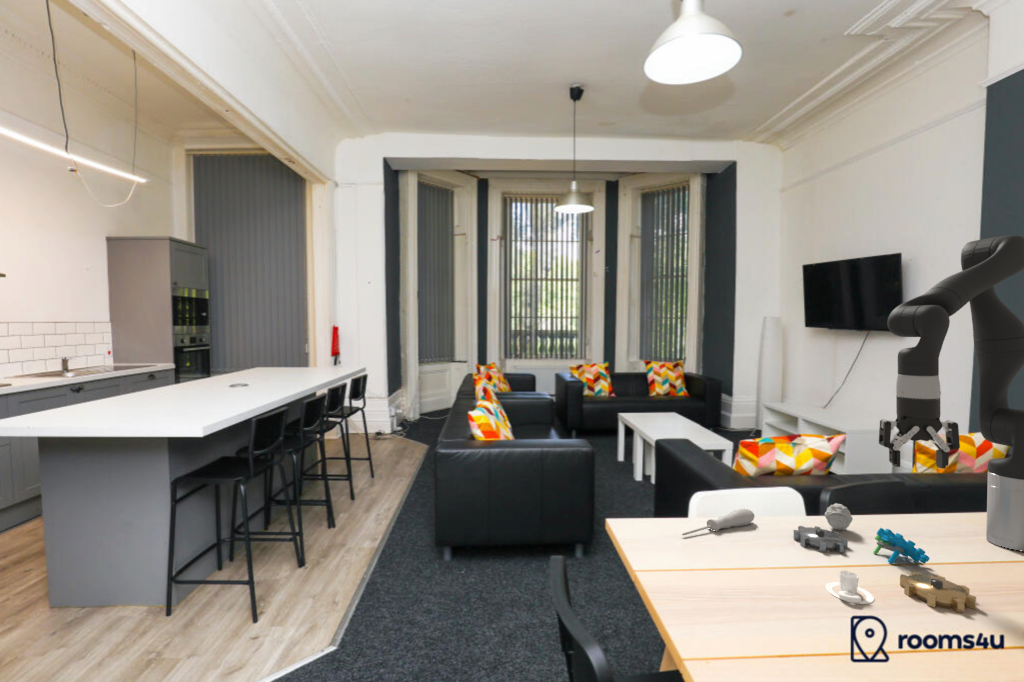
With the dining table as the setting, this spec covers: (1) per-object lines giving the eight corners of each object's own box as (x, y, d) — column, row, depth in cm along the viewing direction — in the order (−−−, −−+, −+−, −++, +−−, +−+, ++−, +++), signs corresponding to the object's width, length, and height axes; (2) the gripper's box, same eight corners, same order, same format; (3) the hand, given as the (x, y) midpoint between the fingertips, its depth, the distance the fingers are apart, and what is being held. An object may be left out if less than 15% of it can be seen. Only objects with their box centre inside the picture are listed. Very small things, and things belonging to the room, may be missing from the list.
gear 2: (942, 564, 104) (909, 532, 104) (927, 586, 103) (894, 553, 103) (896, 549, 115) (866, 519, 115) (882, 568, 114) (852, 538, 114)
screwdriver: (676, 541, 123) (673, 524, 124) (745, 521, 134) (742, 505, 134) (690, 545, 119) (686, 527, 120) (760, 523, 129) (756, 507, 130)
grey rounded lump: (824, 531, 125) (825, 505, 125) (824, 522, 131) (824, 497, 131) (853, 537, 122) (853, 509, 122) (851, 527, 128) (851, 501, 128)
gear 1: (816, 530, 126) (816, 519, 126) (858, 549, 115) (859, 537, 115) (783, 536, 122) (783, 524, 122) (824, 556, 112) (824, 543, 112)
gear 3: (906, 575, 103) (906, 561, 103) (979, 597, 94) (979, 582, 94) (894, 594, 95) (894, 579, 95) (971, 620, 87) (972, 603, 87)
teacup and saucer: (857, 611, 90) (858, 590, 90) (814, 591, 97) (814, 571, 97) (882, 599, 94) (882, 579, 94) (839, 581, 101) (839, 561, 101)
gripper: (945, 392, 109) (945, 463, 110) (873, 392, 113) (873, 460, 113) (967, 397, 102) (967, 473, 102) (889, 397, 106) (889, 470, 106)
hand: (918, 466), depth 108 cm, fingers open, 8 cm apart
